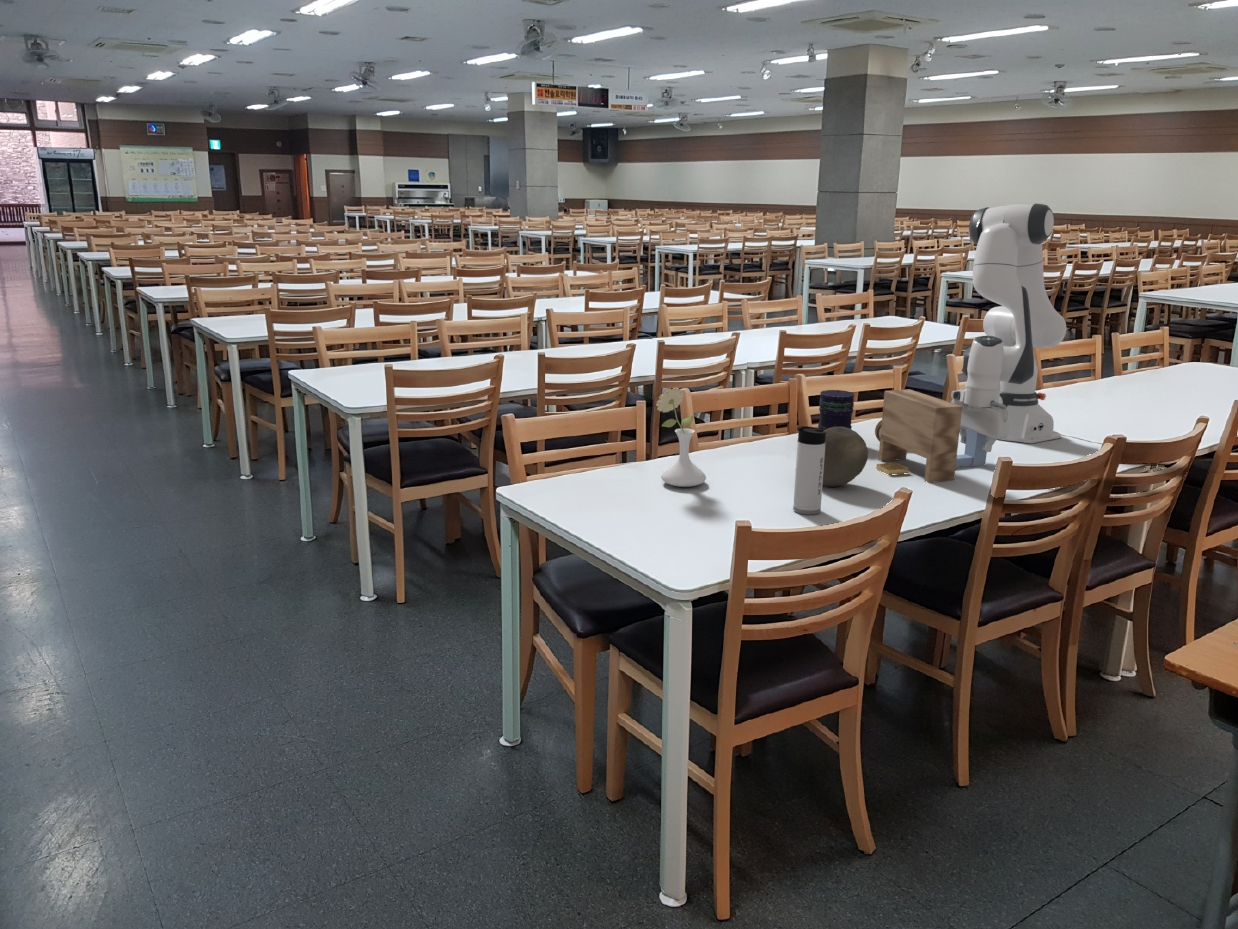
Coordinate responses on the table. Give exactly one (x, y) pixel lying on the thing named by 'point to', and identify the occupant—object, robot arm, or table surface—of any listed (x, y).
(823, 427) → the storage jar
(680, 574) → the table surface
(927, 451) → the wooden bridge block
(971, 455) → the blue l-shaped bracket
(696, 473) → the flower in vase
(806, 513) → the travel mug
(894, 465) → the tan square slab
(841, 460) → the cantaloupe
